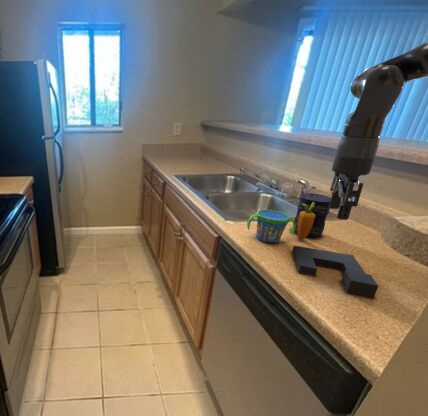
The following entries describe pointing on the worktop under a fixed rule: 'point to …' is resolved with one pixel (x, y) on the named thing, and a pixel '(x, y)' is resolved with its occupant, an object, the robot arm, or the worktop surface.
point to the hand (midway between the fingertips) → (337, 213)
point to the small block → (359, 284)
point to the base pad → (323, 260)
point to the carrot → (305, 221)
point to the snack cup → (271, 225)
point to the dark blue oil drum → (319, 210)
